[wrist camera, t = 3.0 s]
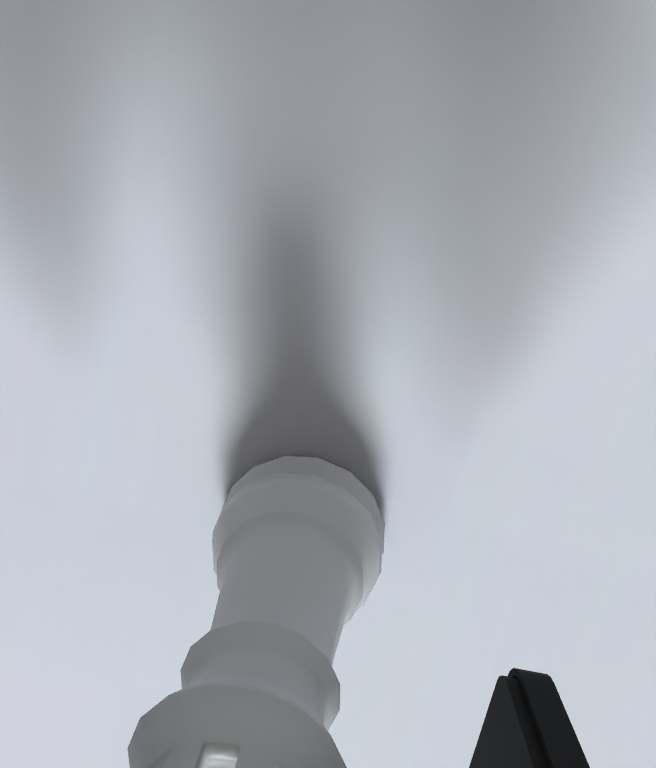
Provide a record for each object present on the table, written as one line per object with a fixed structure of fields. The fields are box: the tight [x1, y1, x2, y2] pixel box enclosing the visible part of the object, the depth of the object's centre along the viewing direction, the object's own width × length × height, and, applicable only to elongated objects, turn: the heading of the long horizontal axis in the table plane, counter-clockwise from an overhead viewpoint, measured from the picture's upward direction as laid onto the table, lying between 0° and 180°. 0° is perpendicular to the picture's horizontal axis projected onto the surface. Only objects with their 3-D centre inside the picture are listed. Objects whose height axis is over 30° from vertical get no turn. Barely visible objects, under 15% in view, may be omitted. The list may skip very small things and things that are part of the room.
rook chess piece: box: [128, 456, 385, 768], centre depth 10 cm, size 4×4×8 cm
